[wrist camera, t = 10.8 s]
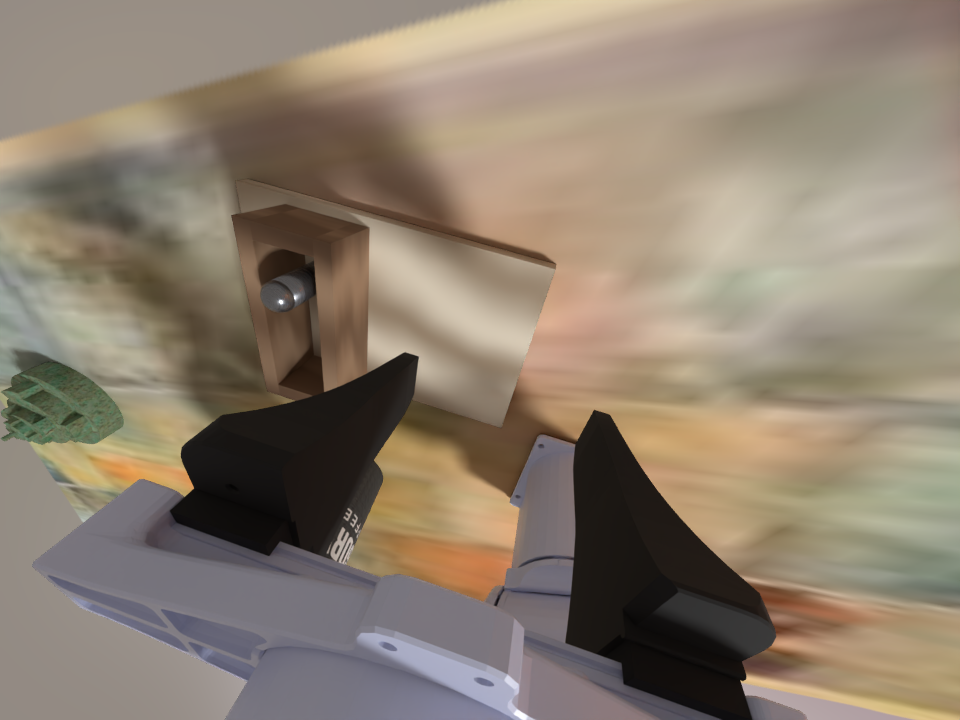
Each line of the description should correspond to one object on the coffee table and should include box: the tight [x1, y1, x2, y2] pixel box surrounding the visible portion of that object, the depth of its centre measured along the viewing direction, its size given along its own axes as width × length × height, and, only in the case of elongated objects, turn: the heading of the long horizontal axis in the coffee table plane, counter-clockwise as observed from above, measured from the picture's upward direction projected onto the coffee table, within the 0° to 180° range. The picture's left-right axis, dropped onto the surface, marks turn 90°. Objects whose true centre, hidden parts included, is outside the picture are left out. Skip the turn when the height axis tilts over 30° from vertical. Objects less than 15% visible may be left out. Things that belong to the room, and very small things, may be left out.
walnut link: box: [231, 204, 370, 401], centre depth 22 cm, size 12×6×4 cm, turn 168°
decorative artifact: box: [1, 362, 124, 445], centre depth 37 cm, size 10×7×10 cm
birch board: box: [235, 179, 556, 428], centre depth 24 cm, size 13×20×1 cm, turn 78°
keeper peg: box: [260, 261, 317, 313], centre depth 20 cm, size 2×2×6 cm
